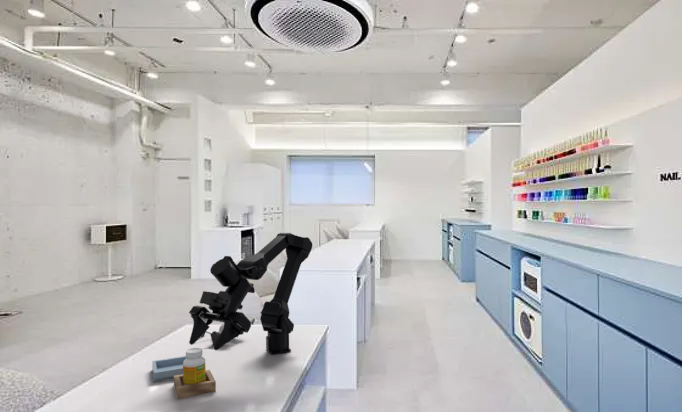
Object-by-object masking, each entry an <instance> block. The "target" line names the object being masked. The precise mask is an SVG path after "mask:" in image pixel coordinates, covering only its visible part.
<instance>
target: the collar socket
mask: <svg viewBox="0 0 682 412" xmlns="http://www.w3.org/2000/svg"><path fill="white" fill-rule="evenodd" d="M205 378H206V382H200V383H195V384H189V385H184V386H183V374H181V375H175V376H174V379H173V387H174V391H175V395H176V399H177V400H179V399H184V398H191V397H197V396H200V395H206V394H211V393H216V392H217V388H216V387H217V386H216V383H217V382H216V379H215V377H214V375H213V373H212V372H211V370H210V369H205Z"/></svg>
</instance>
